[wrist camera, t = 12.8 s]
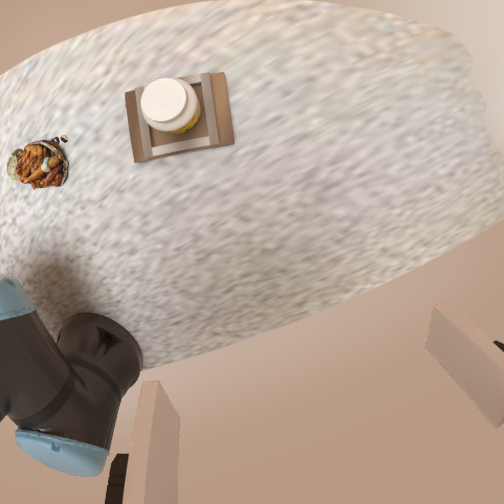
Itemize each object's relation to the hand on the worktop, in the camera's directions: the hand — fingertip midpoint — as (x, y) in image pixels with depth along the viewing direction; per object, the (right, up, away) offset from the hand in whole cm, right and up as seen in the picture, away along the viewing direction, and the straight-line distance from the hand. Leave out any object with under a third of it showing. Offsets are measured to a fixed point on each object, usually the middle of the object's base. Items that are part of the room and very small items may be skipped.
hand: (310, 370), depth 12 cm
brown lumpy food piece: (-33, +17, +19) cm, 41 cm away
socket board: (-11, +21, +19) cm, 31 cm away
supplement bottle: (-11, +21, +18) cm, 30 cm away
